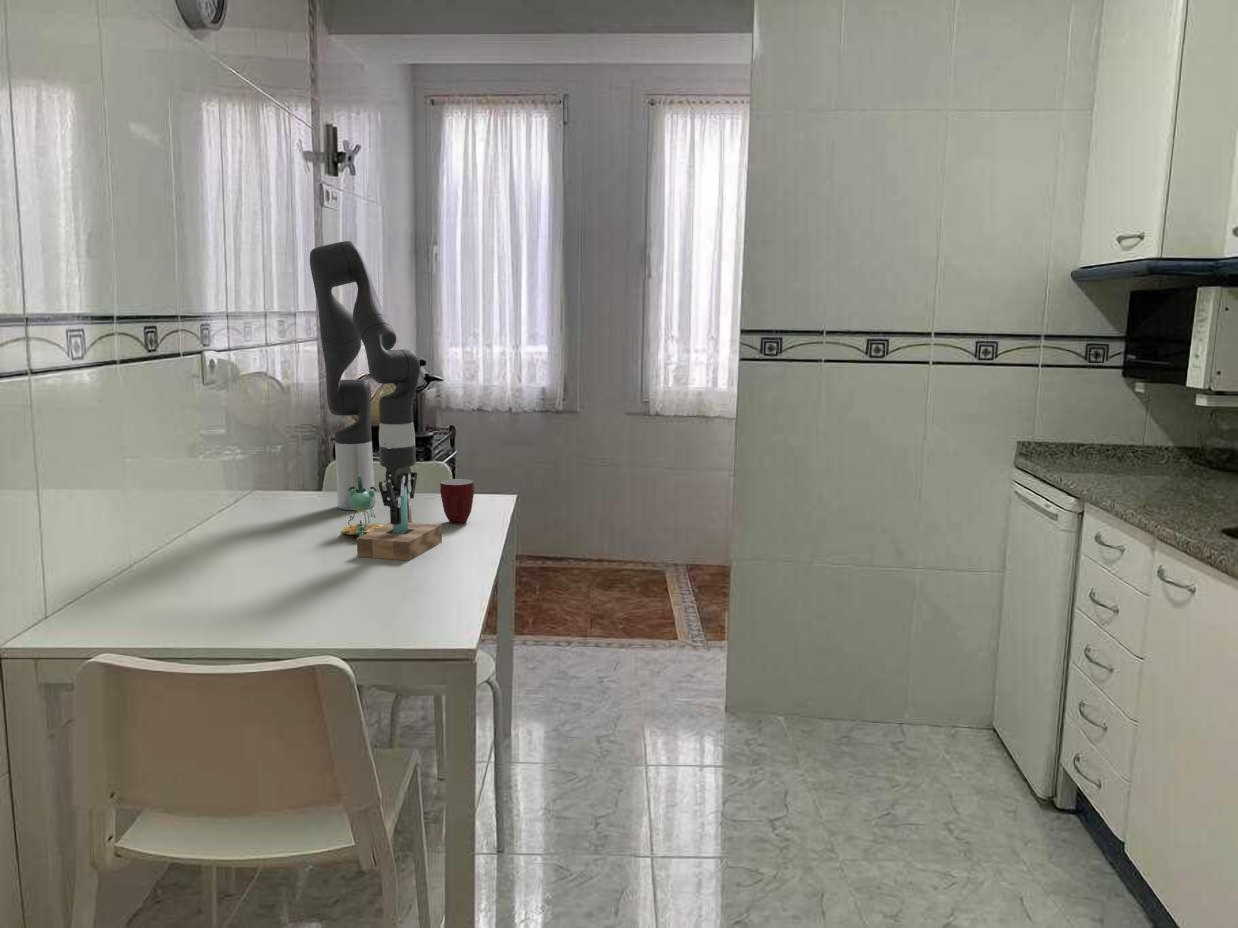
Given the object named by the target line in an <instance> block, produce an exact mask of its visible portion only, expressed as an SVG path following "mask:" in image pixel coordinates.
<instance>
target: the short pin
mask: <svg viewBox="0 0 1238 928" xmlns="http://www.w3.org/2000/svg"><path fill="white" fill-rule="evenodd" d="M412 515H413V513H412V504H411V503H409V520H408V523H413V518H412V517H413V516H412Z"/></svg>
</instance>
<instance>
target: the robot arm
mask: <svg viewBox="0 0 1238 928" xmlns="http://www.w3.org/2000/svg"><path fill="white" fill-rule="evenodd" d="M309 267H310V273H311V277H312V278H311V279H312V281H313V282H312V283H313V287H314V292H315V297H316V302H317V309H318V318H319V321H318V322H319V335H320V342H321V348H322V355H323V360H324V369H325V385H326V402H327V408H328V410H329V412H330V414H332V415H334V416H340V417H341V416H342V417H343V416H358V419H357V420H356V421H355V422H353V423H351V424H350V425H348V426H345V427H342V428H339V429H337V430H336V431H335V433H334V445H335V446H334V447H335V450H334V451H335V467H336V469H335V470H336V471H335V472H336V489H337V490H336V491H337V492H336V493H337V508H338V509H340V510H343V511H344V510H345V511H346V510H347V511H355V509H354V508H353V507H352V505H349V504H350V503H351V496H350V491H351V490H355V489H356V488H357V489H358V480H357V477H358V476H361V478H362V486H363V489H364V488H366V491H367V492H368V493H369V491H374V496H373V497H372V507H371V508H373V507H374V506H375V504H376V491H375V490H373V489H370V487H374V488H376V487H375V469H374V463H373V462H374V459H373V442H372V441H373V438H372V436H373V435H372V390H371V389H372V388H371V385H370V383H369V381H368V380H367V379H358V378H357V379H342V377H343V374H344V373H345V371H346V370H347V369H348V367H349V366H350V365H351V364H352V363H353V362H354V361H355V359H356V358H357V356H358V354H360V350H361V349H362V348H361V347H362V344H363V346H364V350H365V354H366V355H365V356H366V360H367V367H368V372H369V375H370V377H371V378H372V379H373V380H374V381H375V382H377V384H381V385H382V384H383V385H387V384H389V385H390V384H396V387H395V389H394V391H393V392H391V393H388V394H384V395H382V396H381V397H380V398H379V402H378V413H379V414H378V415H379V427H378V428H379V430H378V442H379V443H378V445H379V446H378V447H379V449H378V450H379V465H380V466H381V467H384V468H385V477H384V478H385V479H384V481H378V489H379V491H380V495H381V499H382V503H383V505H384V507H388V508H389V515H390V516H389V517H390V522H391V524H396V525H399V524H401V507H400V506H401V497H402V496H403V491H404V486H407V514H408V520H409V504H411V499H414V498H415V492H416V487H417V481H418V480H417V479H418V472H417V471H412V469H411V467H413V466H415V465H416V461H417V460H416V459H417V458H416V456H417V455H416V433H415V427H414V407H413V405H414V399H415V395H416V390H417V385H418V381H419V379H420V378H419V377H420V372H421V363H420V359H419V357H418V355H417V354H416V353H415V352H414V351H413V350H411V349H405V348H404V349H393V348H394V347H395V345H396V343H397V335H396V332H395V330H394V328H393V326H392V325H391V323H390V321H389V320H388V317H387V315H386V314H385V311H384V310H383V308H382V305H381V303H380V301H379V298H378V295H377V293H376V290H375V287H374V284H373V280H372V278H371V276H370V273H369V270H368V267H367V265H366V263H365V260H364V257H363V255H362V253H361V252H360V249H359V248H358V247H357V245H356V244H355V243H354V242H352V241H350V240H345V241H339V242H334V243H329V244H326V245H321V246H317V247H315V248H312V249H311V251H310V253H309ZM351 283H356V286H357V293H356V299H355V302H354V305H353V310H352V311H353V312H352V311H350V310H349V309H348V308H347V307H346V306H345V305H344V304H342V302H340V301H339V300H338V299H337V297H336V296H335V295H334V294H333V292H332V290H333V288H336V287H340V286H344V285H347V284H351ZM352 486H353V487H355V489H351V490H350V491H349V488H350V487H352ZM394 491H399V492H398V493H394ZM395 496H396V498H395ZM348 506H351V507H350V509H349V508H347V507H348ZM390 522H389V523H390Z"/></svg>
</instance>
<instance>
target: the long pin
mask: <svg viewBox="0 0 1238 928" xmlns="http://www.w3.org/2000/svg"><path fill="white" fill-rule="evenodd" d="M398 492H399V491H394V493H398ZM395 498H396V496H395ZM400 507H401V524H399V525H396V524H393V534H404V535H406V534H408V514H407V486H404V491H403V496H402V497H401V506H400Z"/></svg>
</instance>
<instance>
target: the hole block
mask: <svg viewBox="0 0 1238 928" xmlns="http://www.w3.org/2000/svg"><path fill="white" fill-rule="evenodd" d="M442 537H443V533H442V524H437V523H436V524H434V523H421V522H412V523H408V534H406V535H404V534H393V524H391V522H388V523H386V524H384V525H382V527H380V528H378V529H375V530H373V531H371V532H369V533H365V534H364V535H363V536H360V537H359V536H357V538H356V539H357V540H356V549H357V557H358V558H359V557H360V558H372V559H373V558H374V559H382V560H384V559H385V560H394V561H395V560H398V561H409V562H410V561H412V560H413V559H415V558H417V557H418V556H420V555H422V554H423V553H425V552H426V551H429V550H431V549H432V548H434V547H436V546H437V545H439V544H441V543H442V542H443V538H442Z"/></svg>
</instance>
